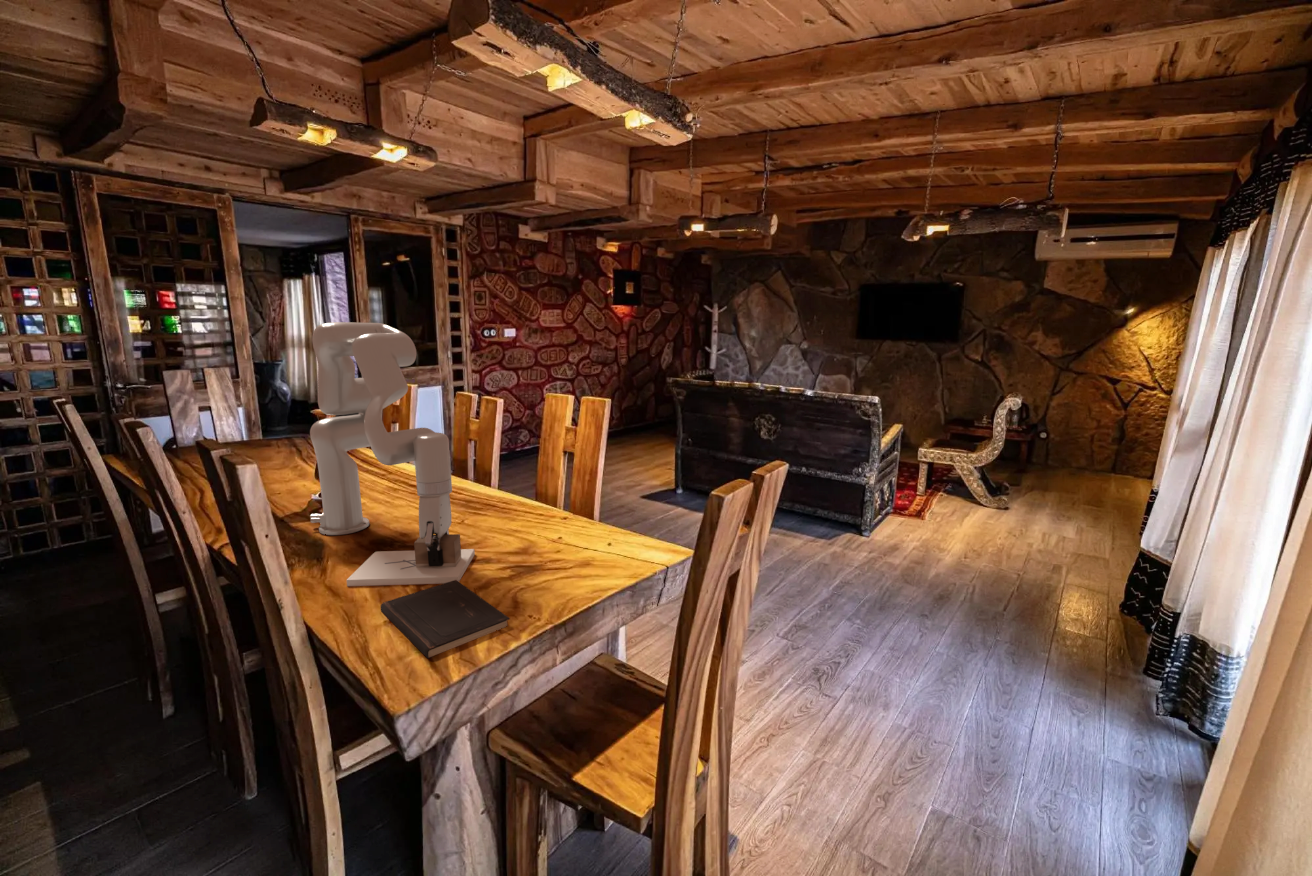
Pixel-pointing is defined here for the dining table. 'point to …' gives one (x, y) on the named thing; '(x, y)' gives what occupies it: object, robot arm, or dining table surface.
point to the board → (405, 570)
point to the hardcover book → (443, 617)
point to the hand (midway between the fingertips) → (439, 559)
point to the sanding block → (448, 545)
